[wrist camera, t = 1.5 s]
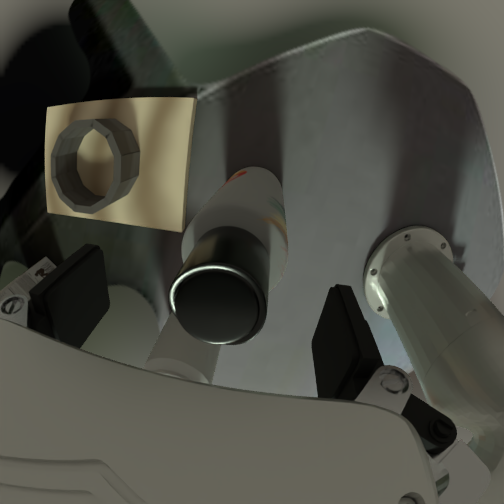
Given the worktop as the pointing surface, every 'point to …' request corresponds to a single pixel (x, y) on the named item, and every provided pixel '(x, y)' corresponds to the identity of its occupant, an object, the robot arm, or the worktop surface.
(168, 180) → the bottle holder
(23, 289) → the coffee box
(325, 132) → the worktop surface
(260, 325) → the lotion bottle
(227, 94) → the worktop surface
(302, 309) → the worktop surface
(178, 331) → the can
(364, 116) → the worktop surface
